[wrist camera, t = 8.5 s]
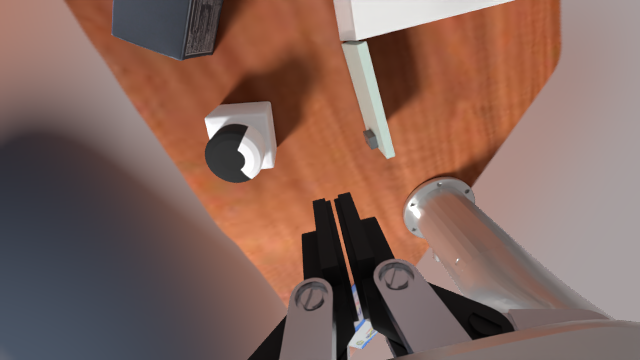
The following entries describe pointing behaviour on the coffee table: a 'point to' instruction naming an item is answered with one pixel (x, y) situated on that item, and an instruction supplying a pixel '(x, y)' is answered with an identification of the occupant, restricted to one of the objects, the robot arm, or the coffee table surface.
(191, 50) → the small box
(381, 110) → the side door
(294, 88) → the coffee table surface
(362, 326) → the medicine box
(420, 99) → the coffee table surface
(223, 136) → the white square bottle
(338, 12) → the white cabinet
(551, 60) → the coffee table surface
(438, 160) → the coffee table surface
